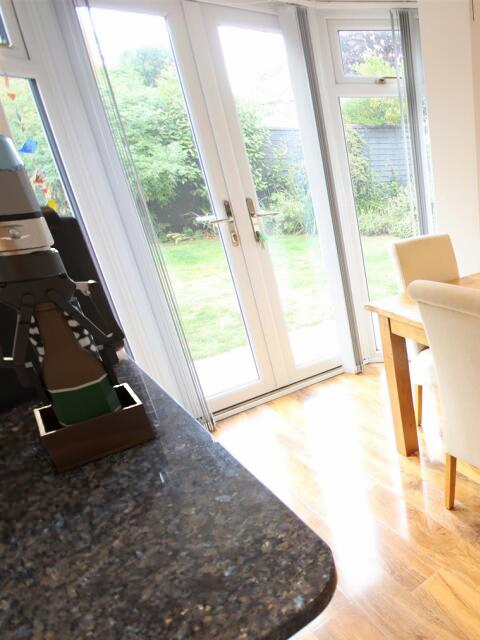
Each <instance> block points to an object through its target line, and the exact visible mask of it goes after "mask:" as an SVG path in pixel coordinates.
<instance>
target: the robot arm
mask: <svg viewBox="0 0 480 640" xmlns="http://www.w3.org/2000/svg"><path fill="white" fill-rule="evenodd" d="M31 182H32V181H31V180H30V177H29V175H28V172H27V170H26V167H25V162H24V161H23V160H22V158H21V157H20V155H19V153H18V150H17V149H16V146H15V144H14V142H13V140H12V139H11V138H10V137H9V136H7V135H6V134H4V133H1V132H0V303H2V304H4V305H6V306H8V307H10V308H12V309H14V310H15V311H16V310H17V311H18V314H17V317H16V326H15V333H14V340H13V347H12V355H11V357H4V352H3V347H2V344H1V342H0V370H1V369H12V370H13V371H14V372H15V374H16V376H17V378H18V380H19V382H20V384H21V386H22V387H23V388H25V389H27V388H31V387H34V388H35V391H36V393H37V394H38V397H39V399H40V401H41V403H42V405H43V407H45V406H49V405H51V403H50V401H49V399H48V397H47V395H46V392H45V390H44V388H43V386H42V383H41V380H40V377H39V374H38V372H37V371H36V368H35V367H34V364H33V363H32V361H29V362H26V357H27V350H28V344H29V338H28V337H29V331H30V324H31V320H32V316H34V317H35V316H37V315H36V313H37V312H33V306H34V304H36V303H39V302H45V301H53V302H55V303H56V304H57V305H58V307H57V310H58V312H61V311H62V310H64V311H65V312H66V313H67V314H68V315H69V316H71V317H72V318H73V319H74V320H75V321H76V322H77V323H79V324H80V325H81V326H82V327H83V328H84V329H85V330H87V331H88V332H89V333H90V334H91V335H92V337H93V339H95V340H97V341H98V342H99V343H100V344H99V345H96V347H97V350H98V352H99V355H100V357H101V360H102V362H103V364H104V366H105V368H106V370H107V372H108V374H109V377H110V379H111V382H112V384H113V386H117V385H120V382H119V380H118V377H117V375H116V372H115V370H114V367H113V366H114V365H118V364H119V363H120V359H119V356H118V354H117V351H116V349H115V344H116V343H118V342H119V341H122V340H124V339H125V338H126V335H125V333H124V332H123V330H122V328H121V327H120V325H119V323H118V322H117V320H116V319H115V317H114V315H113V314H112V312H111V310H110V308H109V307H108V306H107V304H106V301H104V299H103V297H102V292H101V285H100V284H99V282H97V281H96V280H93V279H90V280H88V281H74V280H73V279H72V278H70V277H69V275H68V273H67V270H66V268H65V265H64V263H63V260H62V258H61V256H60V253H59V250H57V249H56V248H54V247H53V248H52V247H51V246H53V245H54V244H55V241H54V238H53V235H52V233H51V230H50V229H49V226H48V223H47V220H46V218H45V216H44V214H43V212H42V209H41V205H40V203H39V200H38V198H37V196H36V193H35V191H34V188H33V185H32V183H31ZM76 290H79V291H80V292H81V293H82V294H83V295H84V296H87V297H89V299H90V301H91V302H92V304H93V306H94V307H95V308H96V310H97V312H98V314H99V315H100V317H101V318H102V320H103V321H104V323H105V325H106V327H107V328H108V330H110V333H109V334H108V335H106V333H104V332H103V331H102V330H101V329H100V328H98V326H96V325H95V324H94V323H93V322H92V321H91V320H90V319H89V318H88V317H86V316H85V315H84V313H83V314H82V313H81V312H80V311H78V310H77V309H76V308H75V307H74V306H73V305H72V304H71V303H70V300H71V298H72V297H74V294H75V292H76ZM17 311H16V312H17Z"/></svg>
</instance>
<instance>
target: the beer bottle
mask: <svg viewBox="0 0 480 640" xmlns="http://www.w3.org/2000/svg"><path fill="white" fill-rule="evenodd" d="M57 307H58V305H57V304H56V303H55V302H53V301H45V302H39V303H36V304H34V306H33V312H37V313H36V315H37V316H35V317H34V316H33V318H34V320H35V323H36V326H37V329H38V332H39V335H40V337H41V340H42V343H43V347H44V353H45V355H44V357H43V360H42V362H41V364H40V363H39V372H38V373H39V374H38V377H39V379H40V381H41V384H42V386H43V388H44V390H45V392H46V395H47V397H48V399H49V401H50V404H51V406H52V408H53V410H54V412H55V414H56V416H57V418H58V421H59V423H60V425H61V427H62V428H64V427H67V426H70V425H74V424H77V423H80V422H83V421H86V420H89V419H92V418H95V417H98V416H102V415H105V414H108V413H111V412H114V411H117V410H120V409H122V406H121V404H120V401H119V399H118V396H117V394H116V391H115V389H114V386H113V384H112V382H111V379H110V377H109V374H108V372H107V370H106V368H105V366H104V364H103V362H102V361H101V360H102V359H101V360H100V359H99V358H98V357H97V356H96V355H95V354H93V353H92V352H90V351H88V350H87V349H85V348H83V347H82V346H81V344H80V343H79V341H78V340H77V339H76V337H75V335H74V333H73V331H72V329H71V327H70V325H69V323H68V321H67V319H66V317H65V315H64V313H63V311H61V312H58V310H57Z"/></svg>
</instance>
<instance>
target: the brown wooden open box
mask: <svg viewBox="0 0 480 640" xmlns="http://www.w3.org/2000/svg"><path fill="white" fill-rule="evenodd" d="M114 389H115V391H116V394H117V396H118V399H119V401H120V404H121V406H122V409H120V410H117V411H114V412H111V413H108V414H105V415H102V416H98V417H95V418H92V419H89V420H86V421H83V422H80V423H77V424H74V425H70V426H67V427H64V428H62V427H61V425H60V423H59V421H58V418H57V416H56V414H55V412H54V410H53V408H52V406H51V405H48V406H45V407H44V406H42V407H39V408H35V409H33V415H34V418H35V420H36V425H37V429H38V431H39V435H40V438H41V440H42V442H43V444H44V446H45V448H46V450H47V452H48V455H49V456H50V458H51V460H52V462H53V465H54V466H55V469H56V471H57V472H58V474H62V473H65V472H67V471H69V470H72V469H75V468H77V467H80V466H83V465H87V464H89V463H91V462H94V461H96V460H99V459H102V458H105V457H108V456H110V455H113V454H115V453H118V452H121V451H124V450H126V449H130V448H132V447H134V446H137V445H139V444H143V443H146V442H148V441H150V440H153V439H155V438H156V435H155V432H154V429H153V427H152V424H151V422H150V419H149V417H148V414H147V411H146V409H145V406H144V403H143V402H142V400H140V398H139V397H138V396H137V394H136V393H135V391H134V390H133V389H132V388H131V387H130V385H129V384H128V383H127V382H125V383H121V384H119V385H117V386H114Z"/></svg>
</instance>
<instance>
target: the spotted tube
mask: <svg viewBox="0 0 480 640" xmlns="http://www.w3.org/2000/svg"><path fill="white" fill-rule="evenodd" d="M70 303H71V304H72V305H73V306H74V307H75V308H76V309H77V310H78V311H80V312H81V313H82V314H83V315H84V313H83V310H82V308H81V305H80V303H79V300H78V298H77V297H76V296H72V298H71V300H70ZM15 311H16V313H17V315H18V311H17V310H15ZM62 311H63V313H64V315H65V317H66V319H67V321H68V323H69V325H70V327H71V329H72V331H73V333H74V335H75V337H76V339H77V340H78V341H79V343H80V344H81V346H82V347H83V348H85V349H87V350H88V351H90V352H92V353H93V354H95V355H96V356H97V357H98V358H99V359H100V360H101V361H102V359H101V357H100V354H99V352H98V350H97V347H96V346H97V344H96V343H95V340H94V337H93V336H92V335H91V334H90V333H89V332H88V331H87V330H85V329H84V328H83V327H82V326H81V325H80V324H79V323H77V322H76V321H75V320H74V319H73V318H72V317H71V316H69V315H68V314H67V313H66V312H65V311H64V310H62ZM28 341H30V345H31V347H32V348H33V350H34V353H35V355H36V357H37V359H38V361H39V365H40V364H41V362H42V360H43V357H44V355H45V353H44V347H43V343H42V340H41V337H40V335H39V332H38V329H37V326H36V323H35V320H34V318H33V316H32V320H31V324H30V331H29V337H28Z"/></svg>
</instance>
